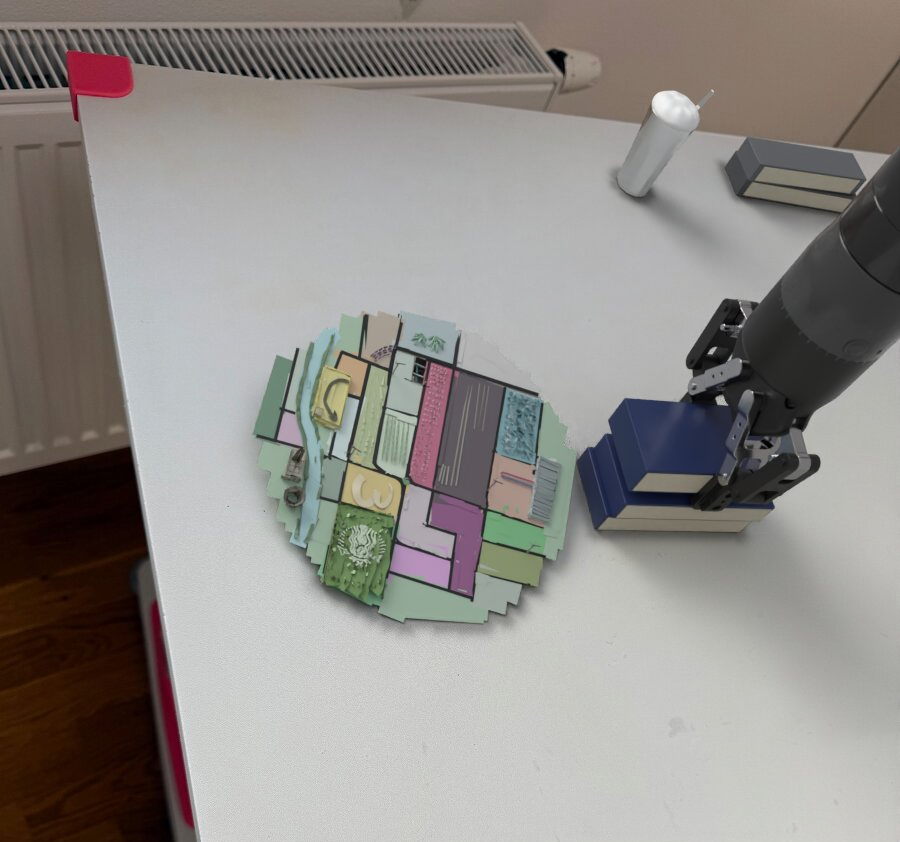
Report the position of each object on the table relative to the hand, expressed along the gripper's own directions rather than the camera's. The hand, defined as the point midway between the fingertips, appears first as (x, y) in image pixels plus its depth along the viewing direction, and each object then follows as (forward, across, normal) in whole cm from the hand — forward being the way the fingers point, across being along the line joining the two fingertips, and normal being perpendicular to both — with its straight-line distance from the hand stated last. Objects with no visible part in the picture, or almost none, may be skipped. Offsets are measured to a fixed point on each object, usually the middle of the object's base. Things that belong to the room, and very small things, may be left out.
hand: (689, 466), depth 71 cm
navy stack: (+4, 0, 0) cm, 4 cm away
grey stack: (+4, +38, -27) cm, 47 cm away
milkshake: (+4, +35, -8) cm, 36 cm away
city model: (+4, +1, +20) cm, 21 cm away
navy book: (-1, 0, 0) cm, 1 cm away
